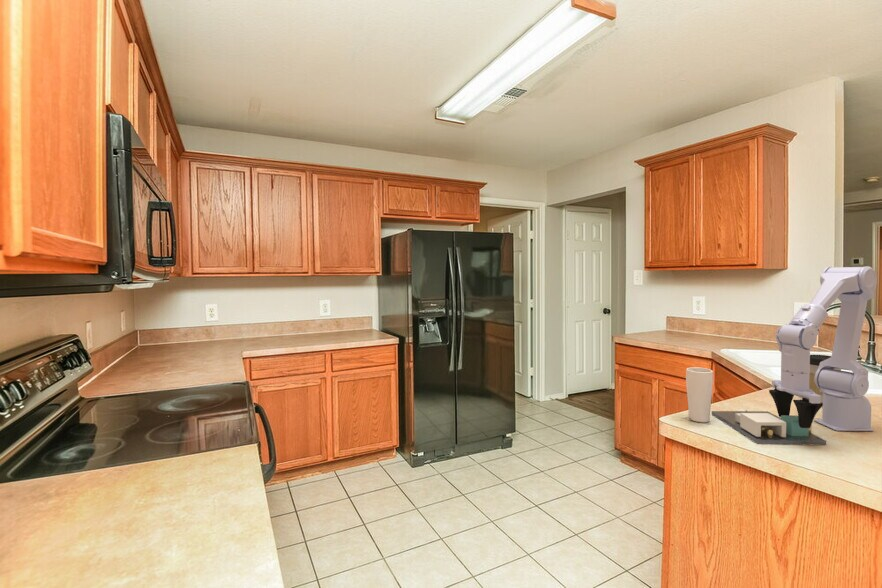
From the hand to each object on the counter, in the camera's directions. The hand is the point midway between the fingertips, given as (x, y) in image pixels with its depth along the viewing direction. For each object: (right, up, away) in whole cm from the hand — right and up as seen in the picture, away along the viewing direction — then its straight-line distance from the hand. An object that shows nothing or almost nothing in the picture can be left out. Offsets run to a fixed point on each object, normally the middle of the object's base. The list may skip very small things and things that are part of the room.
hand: (794, 422), depth 111 cm
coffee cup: (+30, -2, +25) cm, 39 cm away
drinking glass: (-16, -4, +14) cm, 22 cm away
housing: (-7, -3, +3) cm, 9 cm away
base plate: (-3, -4, +7) cm, 8 cm away
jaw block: (0, -3, 0) cm, 3 cm away
